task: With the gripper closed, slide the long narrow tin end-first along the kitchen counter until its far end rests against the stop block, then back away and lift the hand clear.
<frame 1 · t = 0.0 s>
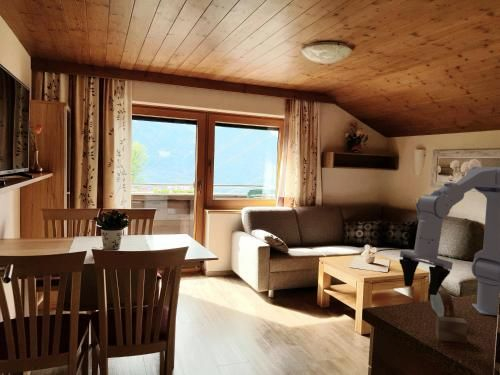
hand: (419, 290, 99), 11 cm above the kitchen counter, tool pointing down, fingers open, 7 cm apart
tin: (440, 316, 110), on the kitchen counter
stop block: (450, 338, 94), on the kitchen counter
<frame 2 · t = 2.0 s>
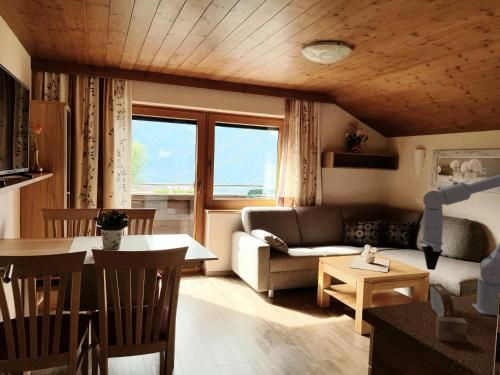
hand: (431, 269, 122), 10 cm above the kitchen counter, tool pointing down, fingers closed
nothing on the kitchen counter moved.
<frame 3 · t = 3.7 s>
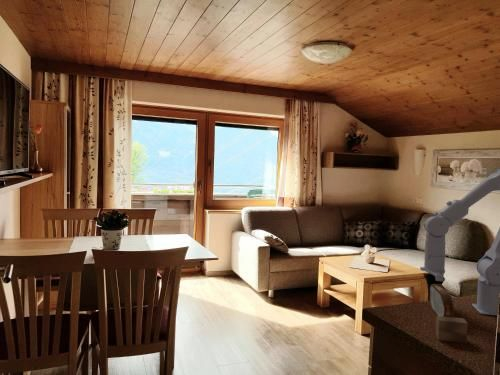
hand: (433, 297, 119), 2 cm above the kitchen counter, tool pointing down, fingers closed
tin: (440, 316, 110), on the kitchen counter, touching gripper
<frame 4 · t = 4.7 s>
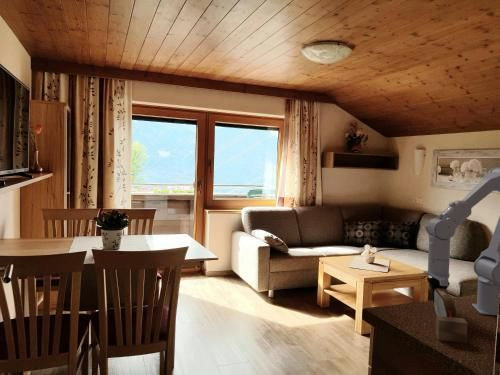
hand: (437, 302, 114), 2 cm above the kitchen counter, tool pointing down, fingers closed
tin: (443, 322, 105), on the kitchen counter, touching gripper
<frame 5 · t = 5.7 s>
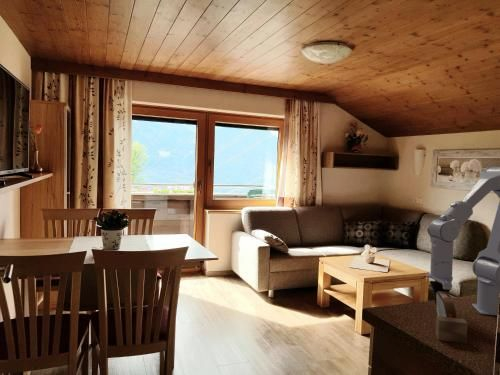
hand: (439, 306, 111), 2 cm above the kitchen counter, tool pointing down, fingers closed
tin: (444, 325, 103), on the kitchen counter, touching gripper, stop block
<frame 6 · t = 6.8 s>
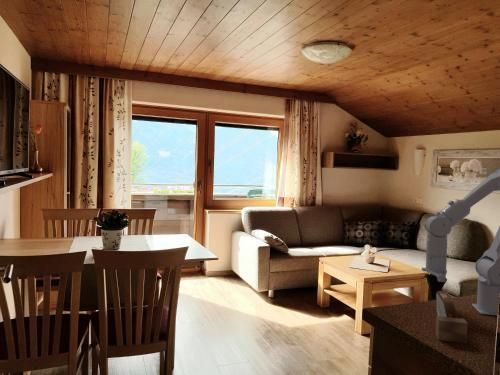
hand: (434, 298, 117), 3 cm above the kitchen counter, tool pointing down, fingers closed
tin: (444, 325, 103), on the kitchen counter, touching stop block
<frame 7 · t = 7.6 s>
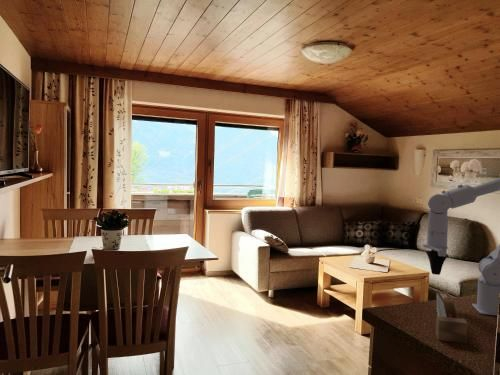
hand: (435, 274, 120), 9 cm above the kitchen counter, tool pointing down, fingers closed
nothing on the kitchen counter moved.
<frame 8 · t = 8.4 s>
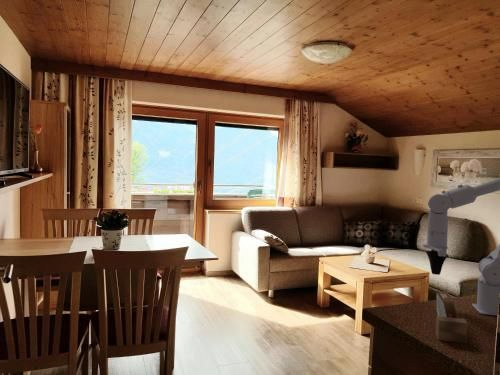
hand: (435, 274, 120), 9 cm above the kitchen counter, tool pointing down, fingers closed
nothing on the kitchen counter moved.
at the end: tin 0.7 cm from the target spot, on the kitchen counter; tin tilted 0° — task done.
